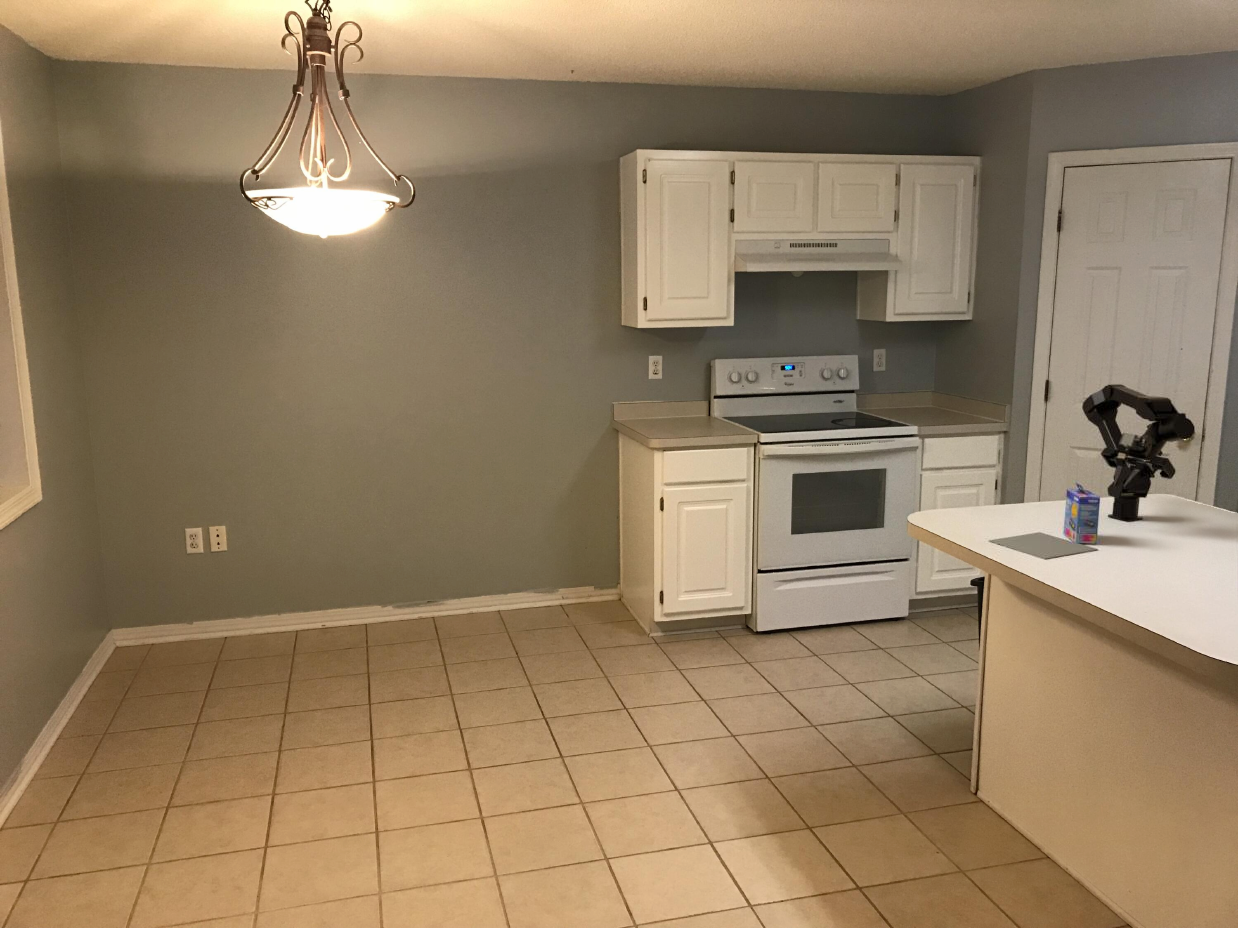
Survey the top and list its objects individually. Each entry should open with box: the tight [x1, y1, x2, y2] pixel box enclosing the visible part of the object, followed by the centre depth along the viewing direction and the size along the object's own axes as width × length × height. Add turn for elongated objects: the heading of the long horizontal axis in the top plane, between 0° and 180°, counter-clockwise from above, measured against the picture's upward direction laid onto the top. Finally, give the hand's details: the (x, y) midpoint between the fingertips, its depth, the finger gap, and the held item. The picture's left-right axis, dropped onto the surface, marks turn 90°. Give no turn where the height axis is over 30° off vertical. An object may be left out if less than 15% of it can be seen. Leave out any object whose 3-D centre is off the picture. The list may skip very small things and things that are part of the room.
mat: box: [988, 531, 1099, 560], centre depth 249 cm, size 18×18×1 cm
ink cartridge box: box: [1062, 482, 1101, 545], centre depth 253 cm, size 10×6×14 cm, turn 174°
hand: (1119, 486), depth 258 cm, fingers open, 3 cm apart
